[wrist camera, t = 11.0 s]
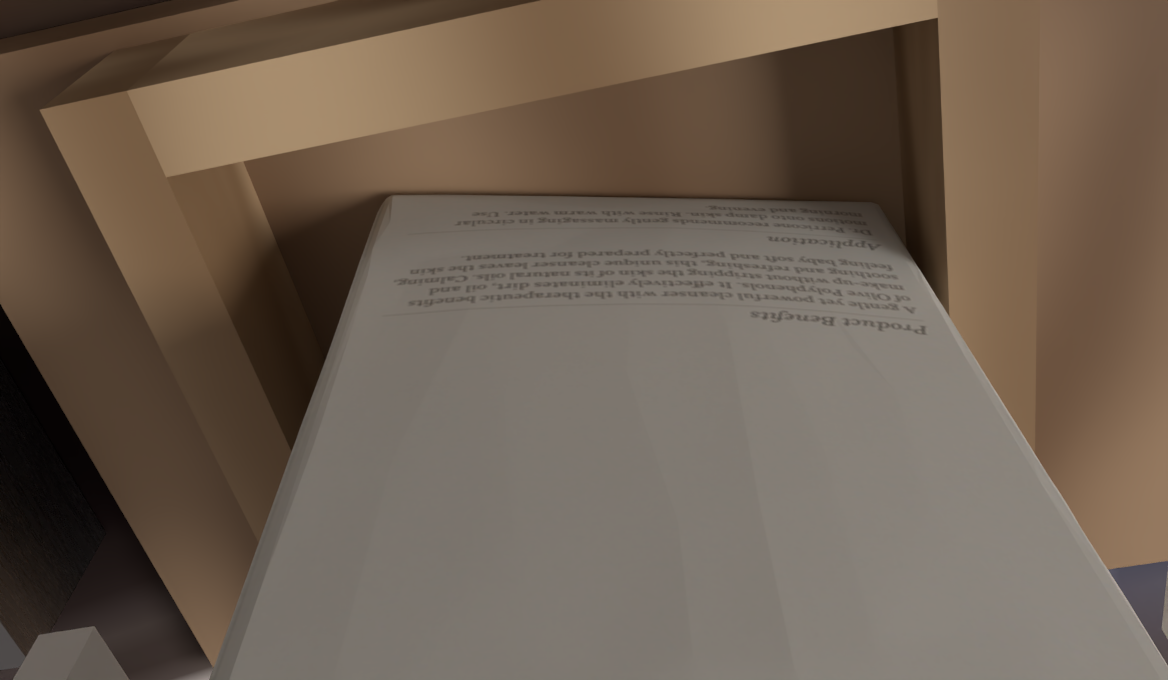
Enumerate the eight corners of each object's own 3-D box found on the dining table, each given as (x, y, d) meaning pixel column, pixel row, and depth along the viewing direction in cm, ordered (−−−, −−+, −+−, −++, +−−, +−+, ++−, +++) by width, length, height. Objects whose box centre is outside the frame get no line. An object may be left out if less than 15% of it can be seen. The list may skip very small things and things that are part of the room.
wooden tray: (245, 652, 24) (193, 798, 21) (-86, 58, 17) (-240, 146, 14) (1160, 516, 22) (1254, 658, 19) (1231, -242, 15) (1404, -217, 11)
